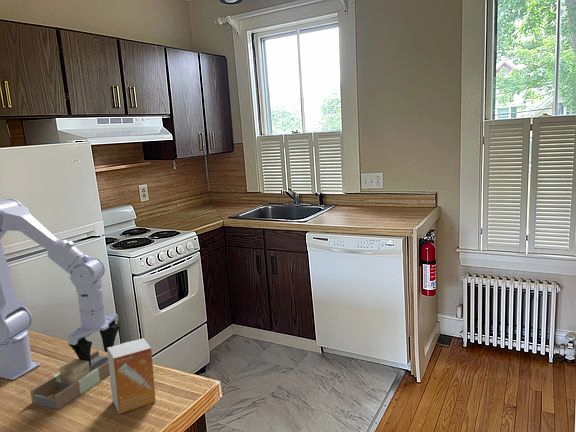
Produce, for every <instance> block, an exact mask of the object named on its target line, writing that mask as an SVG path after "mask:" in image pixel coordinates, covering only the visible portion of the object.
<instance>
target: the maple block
mask: <svg viewBox="0 0 576 432" xmlns="http://www.w3.org/2000/svg"><path fill="white" fill-rule="evenodd" d="M58 369H59V370H58V371H59V372H60V378H61V382H66V383H71V384H73V383H74V382H76V381H78V380H79V379H81V378H82V377H84V376H85V375H87V374H88V373H90V368H89V361H84V360H79V358H73V359H71V360H70V361H67V362H66V363H65V364H63V365H61V366H60V367H58Z"/></svg>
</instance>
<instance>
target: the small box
mask: <svg viewBox="0 0 576 432" xmlns="http://www.w3.org/2000/svg"><path fill="white" fill-rule="evenodd" d="M106 353H107V357H108V362H109V372H110V374H109V382H110V389H111V390H110V391H111V398H112V403H113V405H114V407H115V409H116V412H117V413H118V415H121V414H124V413H126V412H129V411H133V410H135V409H138V408H141V407H144V406H146V405H149V404H154V403H156V392H155V391H156V390H155V389H156V388H155V377H154V363H153V354H152V347H151V346H150V345H149V343H148V342H147V341H146V339H145V338H144V337H143V338H139V339H135V340H131V341H126V342H123V343H120V344H117V345H114V346H112V347H108V348H107V352H106Z"/></svg>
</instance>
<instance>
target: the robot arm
mask: <svg viewBox="0 0 576 432" xmlns="http://www.w3.org/2000/svg"><path fill="white" fill-rule="evenodd" d="M8 231H9V232H10V231H11V232H13V231H14V232H20V233H21V234H23V235H24V236H26V237H27V238H29V239H30V240H32V241H33V242H34V243H36V244H38V245H40V247H42V248H43V249H45V251H47V257H48V259H50V260H51V261H52V262H53V263H54V264H56V265H57V266H58V267H60V268H61V269H62V270H64V271H65V272H66V273H68V274H69V275H70V276H69V279H70V281H71V284H73V285H74V287H75V289H76V291H75V292H76V293H77V302H78V310H79V319H80V326H79V327H78V328H76V330H74V331H73V332H72V333H71V334H70V335H68V336H67V342H68V346H69V347H70V348H71V349H72V350H73V351H74V353H75V354H76V356H77V357H78V358H77V359H79V360H84V361H89V367H90V365H91V358H90V354H91V351H92V349H91V348H92V344H93V341H91V340H90V341H89V340H87V337H90V336H91V335H93V334H94V333H97V332H99V333H100V335H101V341H102V347H103V350H104V352H105V353H107V348H108V347H112V346H115V341H116V337H117V334H118V332H119V329H120V328H121V327H120V326H121V325H120V323H117V322H119V316H118V315H119V314H118V313H110V314H107V315H106V308H105V307H106V306H105V298H104V290H103V282H102V281H103V279H102V278H103V276H104V275H105V271H106V268H105V265H104V263H103V262H102V261H101V260H100V259H99V258H97V257H92V256H91V257H90V256H89V255H88V254H85V253H84V252H82V251H81V250H80V249H79V248H77V247H76V246H75V243H74V242H73V241H71V240H67V239H58V238H57V237H56V235H54V234H53V233H52V232H51V231H50V230H48V229H47V228H46V227H45V226H44V225H43V224H42V223H40V222H39V221H38V220H37V219H36V218H35V217H34V216H32V214H31V213H30V210H29V208H28V207H27V206H25V205H23V204H22V203H21V202H20V201H19V200H17V199H14V198H7V199H4V200H0V378H2V379H6V380H11V381H15V380H16V379H18V378H21V377H22V376H23V375H25V374H27V373H28V372H31V371H33V370H34V369H36V368H37V367H39V366H41V363H40V362H36V361H33V360H32V353H31V346H30V340H29V332H30V331H29V330H30V329H29V328H30V327H31V325H32V324H33V315H32V313H31V312H30V310H29V309H28V308H27V306H26V303H25V301H23V300H21V299H19V298H18V297H17V295H16V292H15V287H14V283H13V281H12V276H11V273H10V269H9V268H10V267H9V266H8V261H7V258H6V254H5V251H4V247H3V242H2V238H3V237H4V235H5V234H6V233H8Z"/></svg>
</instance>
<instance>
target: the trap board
mask: <svg viewBox="0 0 576 432" xmlns="http://www.w3.org/2000/svg"><path fill="white" fill-rule="evenodd" d="M90 358H91V365H90V367H89V368H90V373H88V374H87V375H85V376H84V377H82V378H81V379H79V380H78V381H76V382H74V383H73V384H71V383H66V382H61V378H60V371H59V372H58V373H56V374H54V375H53V376H51V377H49V378H48V379H45V381H43V382H41V383H40V384H39V383H38V385H36V386H34V387H33V388H32V389H30V391H29V392H30V397H31V403H32V404H35V405H38V406H43V407H47V408H50V409H54V410H60V409H62V408H63V407H65V406H66V405H68V404H69V403H70V402H72V401H74V400H75V399H76V398H78V397H79V396H81V395H82V394H83V393H85V392H86V391H88V390H89V389H91V388H92V387H94V386H95V385H97V384H98V383H100V381H102V380H104V379H105V378H107V377H108V376H110V372H109V362H108V355H107V356H106V355H100V353H99V350H94V351H93V352H90ZM57 390H58V391H59V392H57V393H56V394H54V398H53V397H48V396H49V395H51V394H52V393H54V392H55V391H57Z"/></svg>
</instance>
